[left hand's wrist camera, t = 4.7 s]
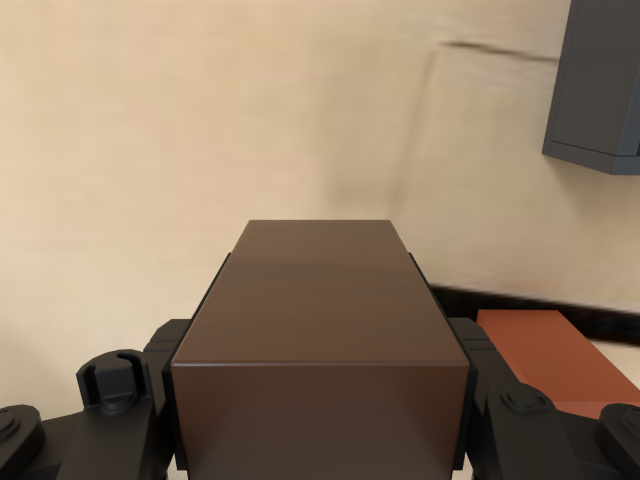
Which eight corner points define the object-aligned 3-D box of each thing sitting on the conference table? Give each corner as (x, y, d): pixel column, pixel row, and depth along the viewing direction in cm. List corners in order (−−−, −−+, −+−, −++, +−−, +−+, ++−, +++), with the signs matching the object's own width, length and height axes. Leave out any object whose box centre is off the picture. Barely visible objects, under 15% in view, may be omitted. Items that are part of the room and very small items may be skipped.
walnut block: (382, 340, 16) (440, 563, 8) (256, 340, 16) (199, 563, 8) (390, 219, 14) (471, 363, 7) (249, 219, 14) (168, 362, 7)
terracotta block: (541, 374, 27) (623, 482, 20) (467, 372, 27) (520, 480, 20) (557, 309, 25) (653, 402, 18) (478, 309, 25) (540, 401, 18)
